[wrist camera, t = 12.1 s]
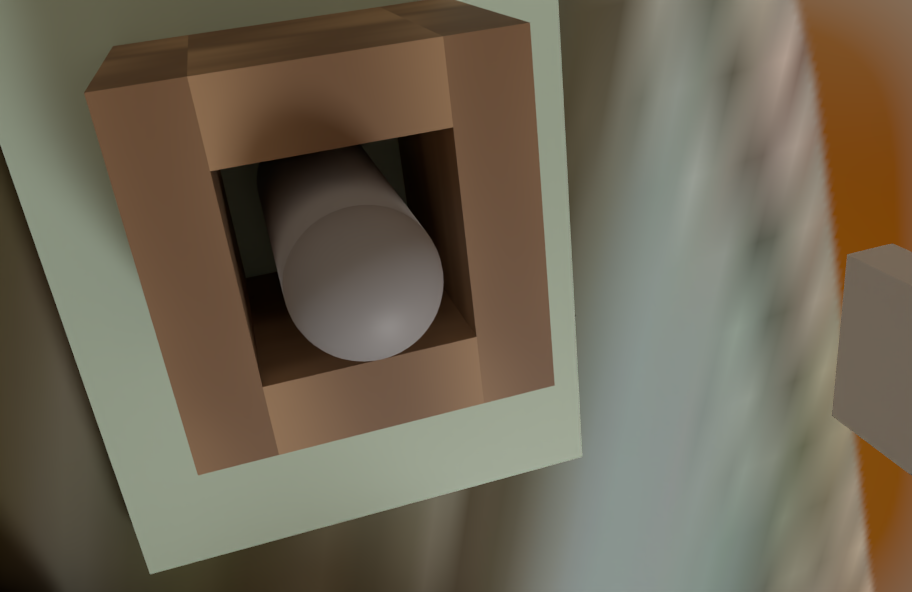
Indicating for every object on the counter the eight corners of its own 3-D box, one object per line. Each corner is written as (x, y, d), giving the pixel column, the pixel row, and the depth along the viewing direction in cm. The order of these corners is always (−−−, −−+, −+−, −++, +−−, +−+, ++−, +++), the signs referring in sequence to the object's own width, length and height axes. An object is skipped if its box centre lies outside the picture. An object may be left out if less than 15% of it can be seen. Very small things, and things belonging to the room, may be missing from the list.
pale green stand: (152, 541, 27) (132, 847, 18) (-132, -293, 17) (-469, -515, 8) (564, 432, 30) (722, 649, 21) (516, -334, 20) (770, -533, 11)
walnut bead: (196, 348, 23) (197, 475, 18) (112, 45, 20) (83, 93, 14) (476, 285, 25) (554, 385, 19) (445, -4, 21) (529, 22, 16)
